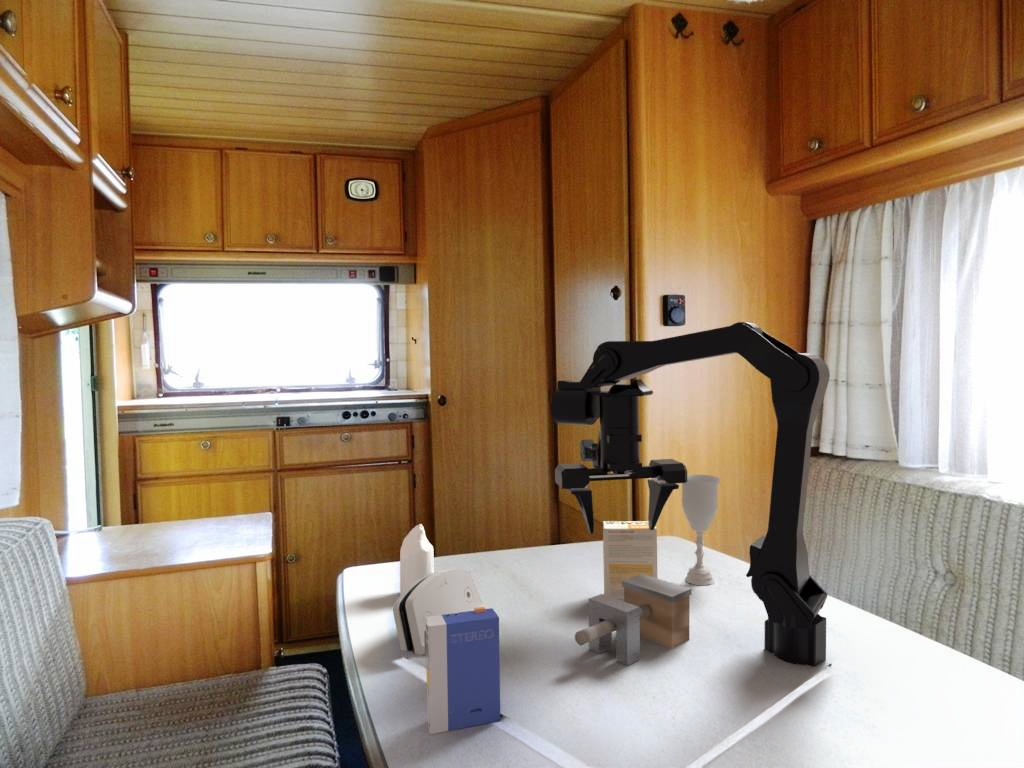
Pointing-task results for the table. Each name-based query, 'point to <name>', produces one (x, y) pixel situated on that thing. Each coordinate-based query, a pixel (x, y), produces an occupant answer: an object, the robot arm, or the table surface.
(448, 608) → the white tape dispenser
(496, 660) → the walkman
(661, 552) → the table surface
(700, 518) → the chalice
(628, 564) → the supplement box
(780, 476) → the robot arm
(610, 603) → the metal u-shaped block
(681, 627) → the wooden mallet
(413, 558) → the white tall chunk
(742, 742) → the table surface
